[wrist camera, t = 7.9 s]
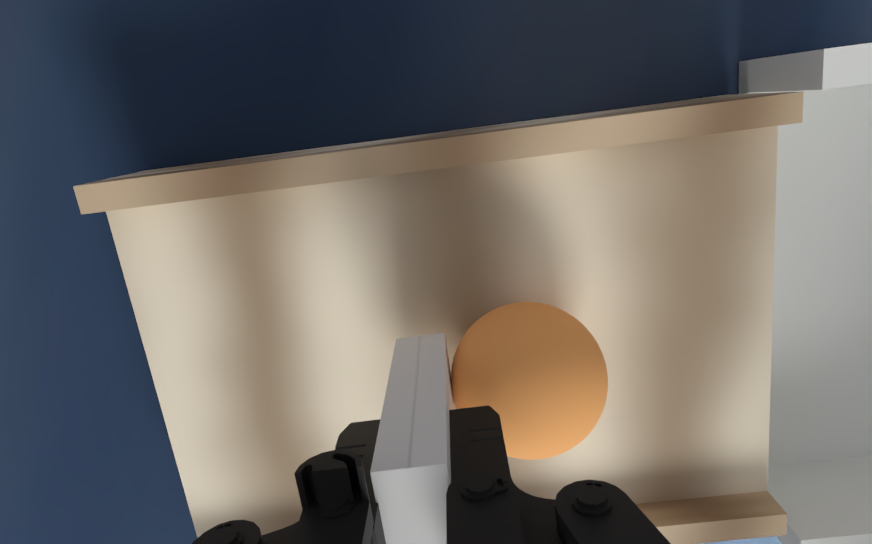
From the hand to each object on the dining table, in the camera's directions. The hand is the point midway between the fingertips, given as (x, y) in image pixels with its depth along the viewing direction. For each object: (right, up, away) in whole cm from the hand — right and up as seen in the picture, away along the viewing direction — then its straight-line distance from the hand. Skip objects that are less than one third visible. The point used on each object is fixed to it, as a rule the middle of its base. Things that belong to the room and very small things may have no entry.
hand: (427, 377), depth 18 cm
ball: (+3, 0, -1) cm, 3 cm away
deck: (+1, +1, +4) cm, 5 cm away
